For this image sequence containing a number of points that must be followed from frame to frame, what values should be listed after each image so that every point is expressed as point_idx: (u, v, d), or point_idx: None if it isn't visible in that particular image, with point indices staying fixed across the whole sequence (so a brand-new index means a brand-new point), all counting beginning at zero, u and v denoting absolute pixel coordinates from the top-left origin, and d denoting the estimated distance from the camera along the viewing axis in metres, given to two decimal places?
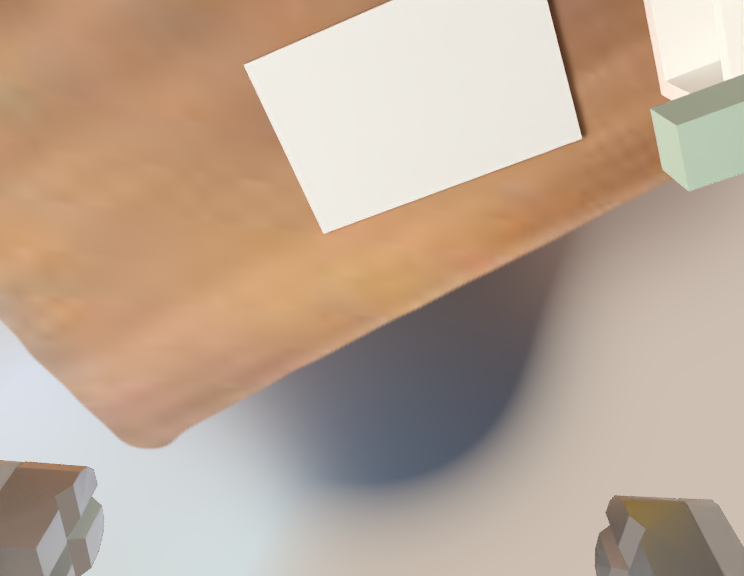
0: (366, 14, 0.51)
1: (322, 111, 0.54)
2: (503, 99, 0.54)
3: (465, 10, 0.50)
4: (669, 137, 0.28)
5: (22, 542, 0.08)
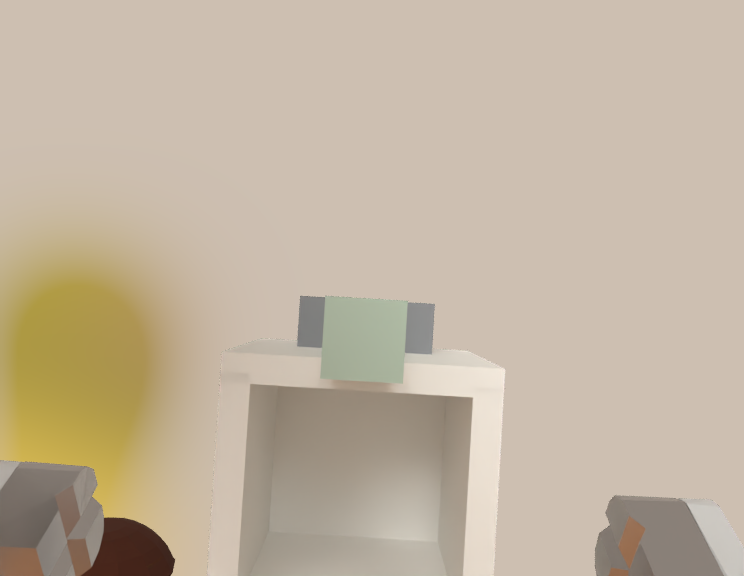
0: None
1: None
2: None
3: None
4: (346, 329, 0.24)
5: (22, 542, 0.08)
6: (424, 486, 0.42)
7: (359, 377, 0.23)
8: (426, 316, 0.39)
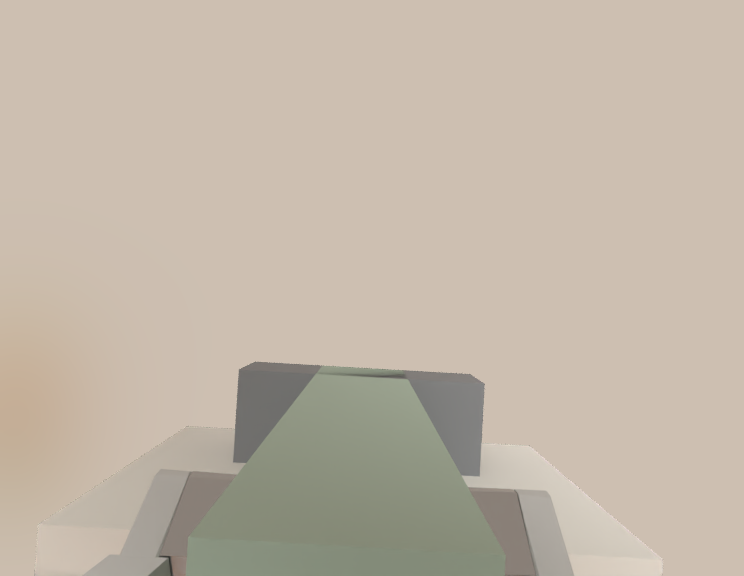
0: None
1: None
2: None
3: None
4: None
5: None
6: None
7: None
8: (469, 405, 0.21)
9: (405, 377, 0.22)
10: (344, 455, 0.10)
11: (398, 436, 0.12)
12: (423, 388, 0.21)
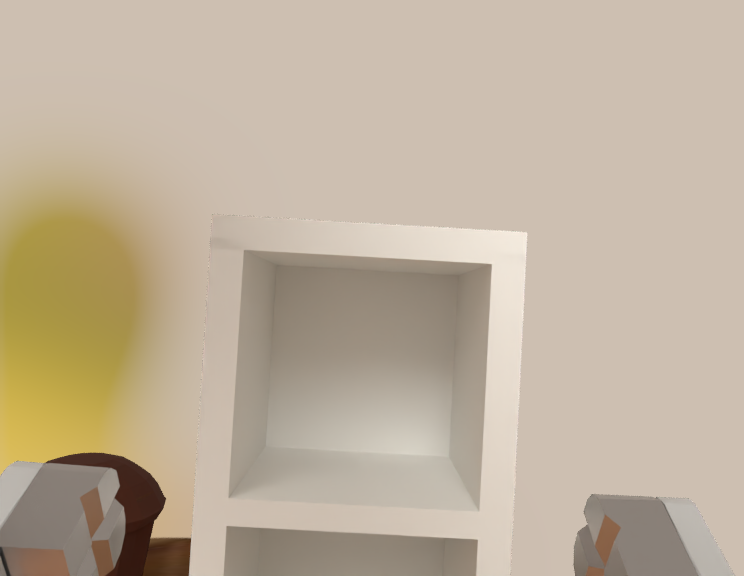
0: None
1: None
2: None
3: None
4: None
5: (50, 544, 0.08)
6: (434, 397, 0.39)
7: None
8: None
9: None
10: None
11: None
12: None
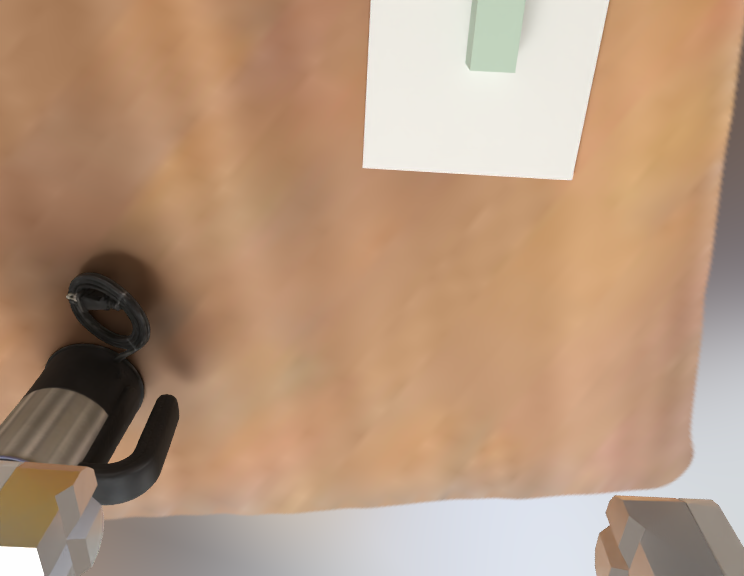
0: (372, 16, 0.44)
1: (444, 113, 0.47)
2: None
3: None
4: None
5: (22, 542, 0.08)
6: None
7: None
8: None
9: None
10: (497, 11, 0.41)
11: None
12: None
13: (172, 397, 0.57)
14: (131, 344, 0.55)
